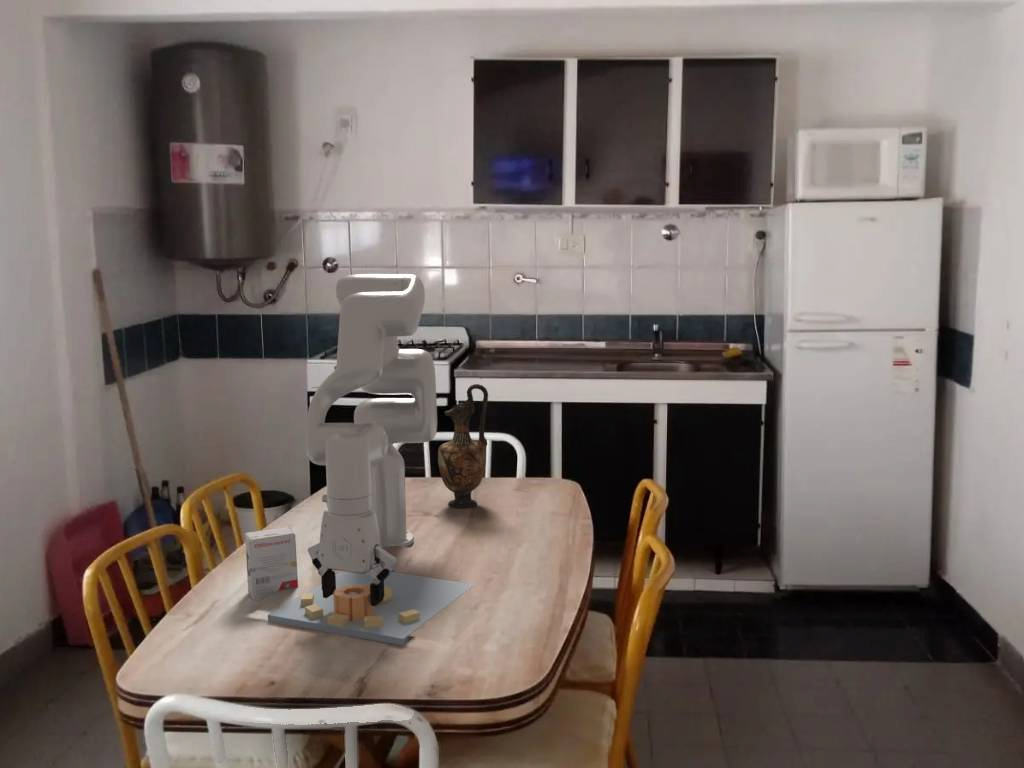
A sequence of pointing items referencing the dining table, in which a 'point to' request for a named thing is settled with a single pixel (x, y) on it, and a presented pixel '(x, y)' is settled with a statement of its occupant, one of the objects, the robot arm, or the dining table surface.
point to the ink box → (271, 561)
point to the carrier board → (393, 617)
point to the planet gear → (353, 602)
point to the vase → (464, 452)
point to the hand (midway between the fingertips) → (353, 599)
